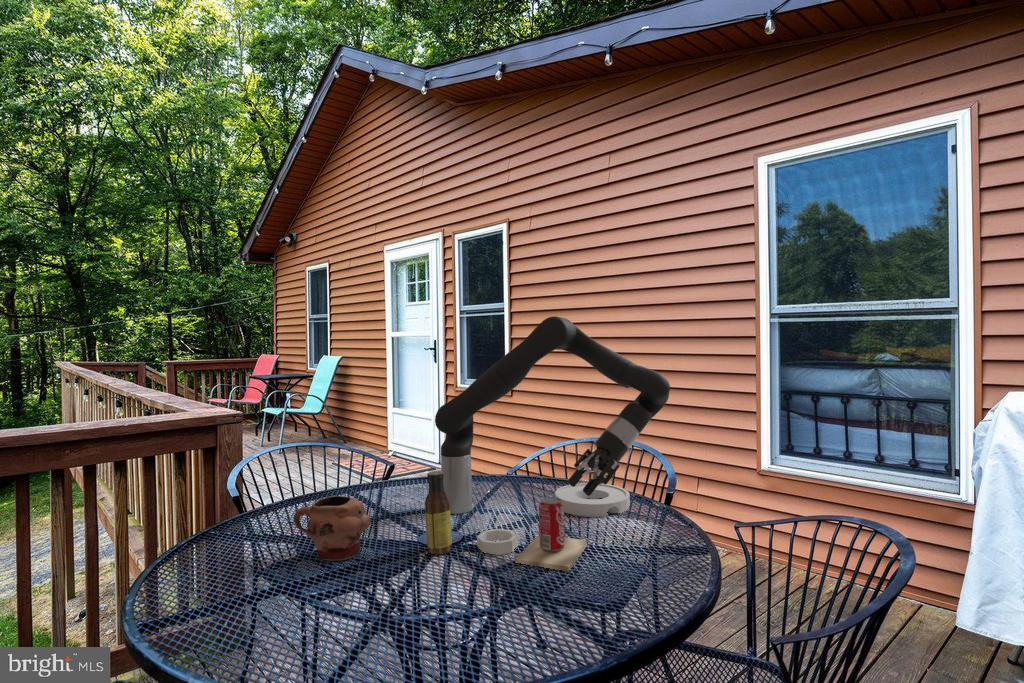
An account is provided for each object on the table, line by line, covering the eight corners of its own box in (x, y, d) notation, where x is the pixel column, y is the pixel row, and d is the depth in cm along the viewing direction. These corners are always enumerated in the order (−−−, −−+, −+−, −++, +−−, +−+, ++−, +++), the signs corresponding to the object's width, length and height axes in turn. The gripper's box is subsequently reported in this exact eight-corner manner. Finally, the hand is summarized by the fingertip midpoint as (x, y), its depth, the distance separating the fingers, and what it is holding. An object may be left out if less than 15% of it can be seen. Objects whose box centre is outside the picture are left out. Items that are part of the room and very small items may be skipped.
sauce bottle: (456, 547, 147) (454, 470, 146) (445, 557, 141) (443, 476, 140) (433, 545, 149) (431, 468, 148) (421, 554, 143) (419, 474, 142)
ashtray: (623, 521, 165) (622, 507, 165) (545, 513, 173) (545, 500, 173) (635, 498, 187) (635, 486, 187) (565, 492, 195) (565, 480, 195)
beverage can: (565, 543, 145) (564, 496, 144) (564, 553, 138) (563, 504, 138) (540, 543, 145) (539, 496, 145) (538, 553, 139) (537, 503, 139)
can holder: (472, 552, 144) (472, 540, 144) (488, 538, 152) (488, 527, 152) (507, 557, 140) (507, 544, 140) (521, 543, 149) (521, 531, 149)
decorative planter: (282, 565, 138) (280, 507, 137) (302, 546, 150) (301, 493, 150) (365, 565, 137) (363, 507, 137) (379, 545, 149) (377, 492, 149)
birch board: (515, 564, 136) (515, 559, 136) (539, 538, 152) (539, 534, 152) (568, 571, 131) (568, 566, 131) (587, 545, 147) (587, 540, 147)
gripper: (594, 425, 153) (555, 473, 149) (622, 434, 139) (580, 486, 136) (612, 443, 154) (574, 491, 151) (641, 453, 141) (601, 506, 137)
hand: (577, 488), depth 143 cm, fingers open, 8 cm apart
